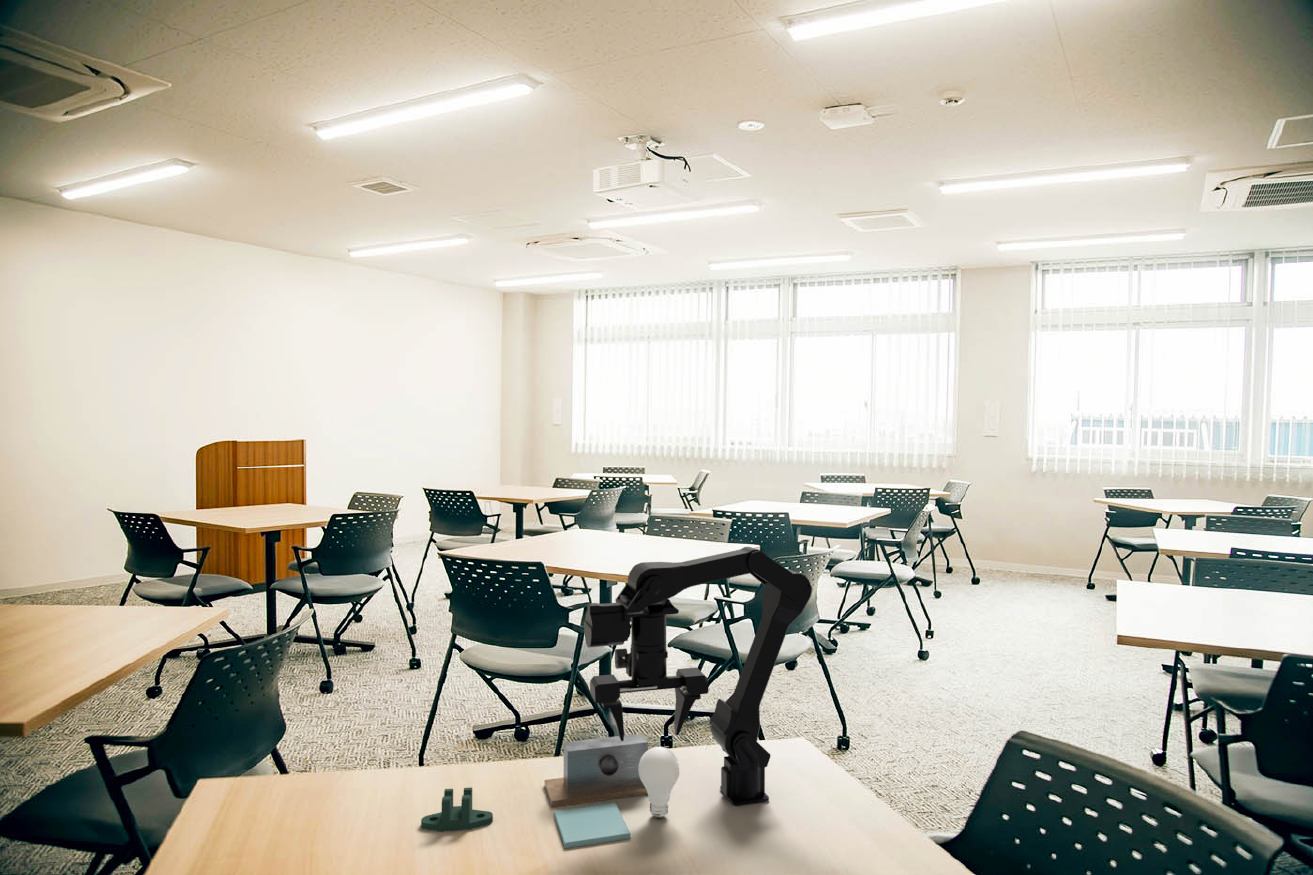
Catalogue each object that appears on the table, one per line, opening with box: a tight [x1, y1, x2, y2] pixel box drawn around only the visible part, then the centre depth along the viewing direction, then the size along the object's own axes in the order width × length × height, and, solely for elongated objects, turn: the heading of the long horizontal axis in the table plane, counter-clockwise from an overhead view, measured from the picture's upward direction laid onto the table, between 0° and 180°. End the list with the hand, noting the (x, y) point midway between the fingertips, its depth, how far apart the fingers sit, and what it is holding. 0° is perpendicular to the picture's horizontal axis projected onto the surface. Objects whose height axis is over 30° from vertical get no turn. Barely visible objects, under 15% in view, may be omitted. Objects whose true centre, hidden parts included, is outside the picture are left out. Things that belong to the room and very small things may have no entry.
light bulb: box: [638, 746, 681, 819], centre depth 123 cm, size 7×7×11 cm
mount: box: [420, 786, 494, 833], centre depth 120 cm, size 11×4×5 cm, turn 98°
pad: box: [553, 802, 631, 849], centre depth 119 cm, size 10×10×1 cm
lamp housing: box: [544, 733, 649, 808], centre depth 132 cm, size 20×8×8 cm, turn 106°
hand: (649, 737), depth 125 cm, fingers open, 9 cm apart
